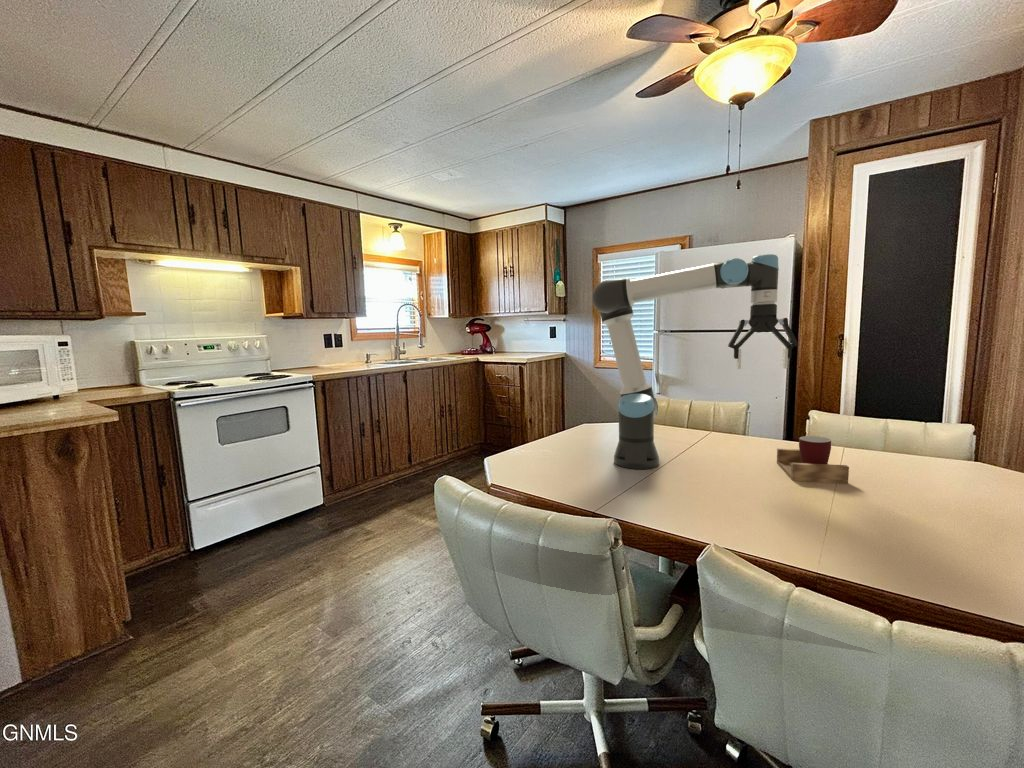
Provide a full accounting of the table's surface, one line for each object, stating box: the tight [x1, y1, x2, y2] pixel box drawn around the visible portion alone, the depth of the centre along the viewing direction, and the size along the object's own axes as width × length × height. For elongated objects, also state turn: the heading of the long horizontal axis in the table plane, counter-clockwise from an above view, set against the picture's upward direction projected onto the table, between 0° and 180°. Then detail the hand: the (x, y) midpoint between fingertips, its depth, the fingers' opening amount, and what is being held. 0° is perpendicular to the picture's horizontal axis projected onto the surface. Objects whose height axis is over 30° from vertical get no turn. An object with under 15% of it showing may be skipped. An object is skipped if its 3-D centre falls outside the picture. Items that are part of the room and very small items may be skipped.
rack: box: [776, 448, 850, 484], centre depth 136 cm, size 14×17×5 cm
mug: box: [798, 435, 832, 464], centre depth 135 cm, size 11×8×10 cm
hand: (761, 368), depth 146 cm, fingers open, 13 cm apart
